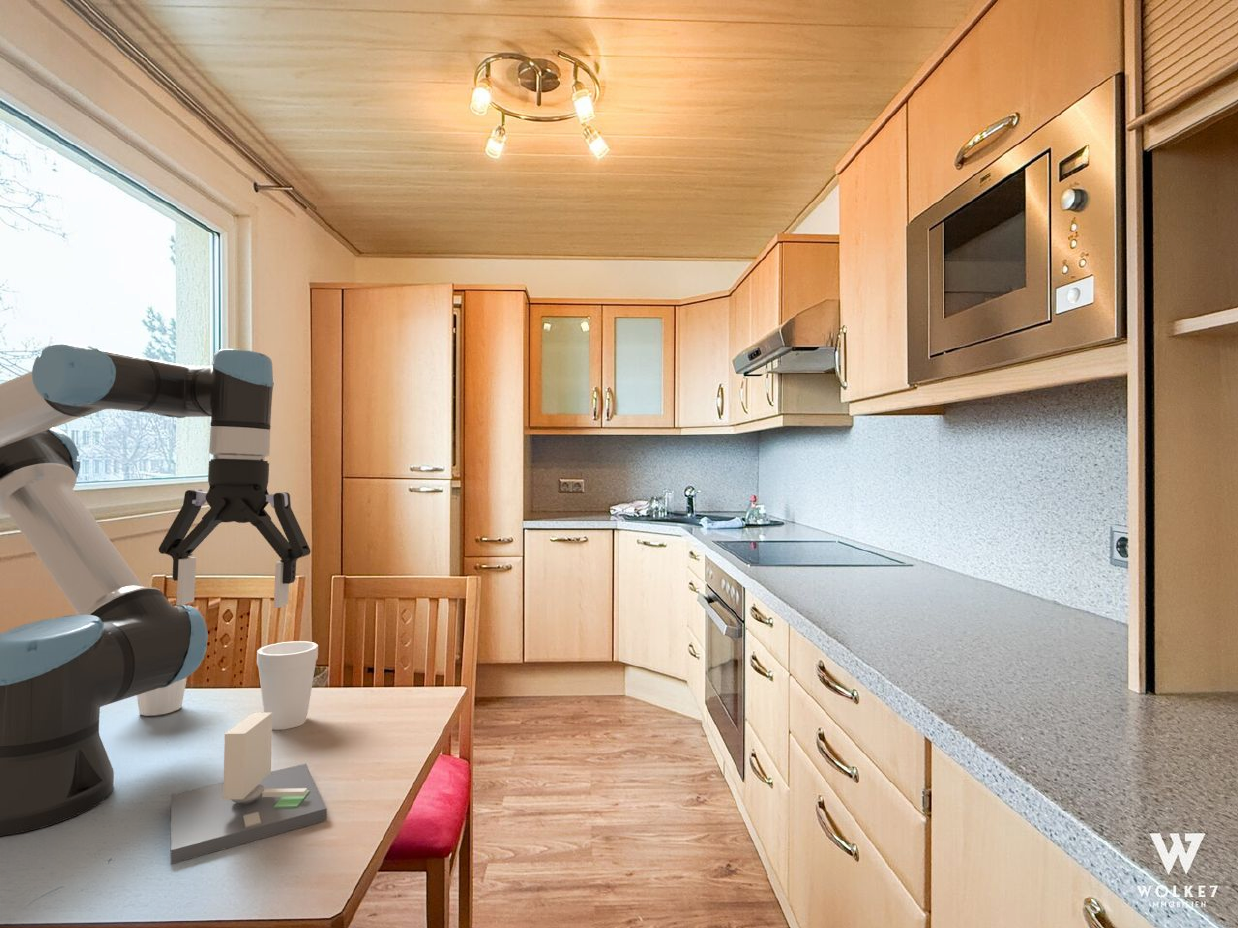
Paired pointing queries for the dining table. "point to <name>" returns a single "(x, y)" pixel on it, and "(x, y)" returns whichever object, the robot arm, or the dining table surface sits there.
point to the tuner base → (241, 814)
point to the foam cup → (287, 681)
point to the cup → (162, 699)
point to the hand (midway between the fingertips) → (233, 605)
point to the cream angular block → (250, 761)
